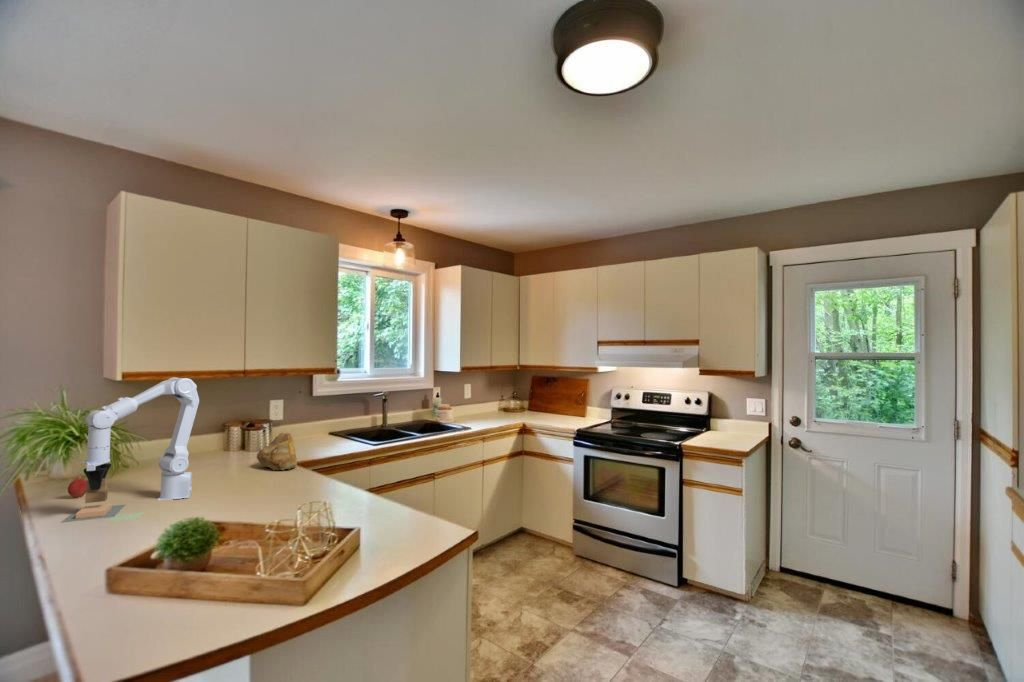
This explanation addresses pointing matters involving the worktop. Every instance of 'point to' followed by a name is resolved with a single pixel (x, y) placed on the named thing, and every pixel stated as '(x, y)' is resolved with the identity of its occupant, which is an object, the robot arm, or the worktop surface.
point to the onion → (77, 487)
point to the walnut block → (96, 492)
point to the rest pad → (126, 516)
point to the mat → (111, 513)
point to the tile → (93, 511)
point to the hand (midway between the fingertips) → (96, 488)
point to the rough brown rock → (279, 453)
